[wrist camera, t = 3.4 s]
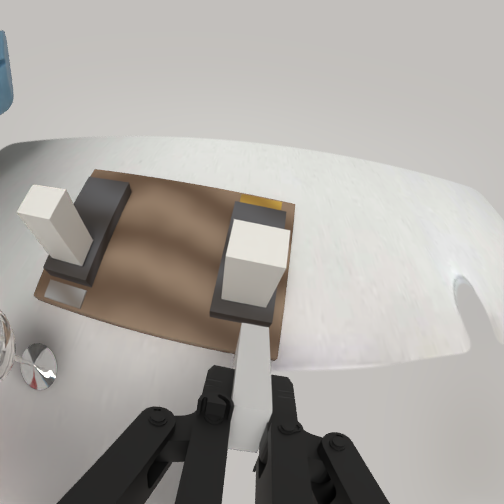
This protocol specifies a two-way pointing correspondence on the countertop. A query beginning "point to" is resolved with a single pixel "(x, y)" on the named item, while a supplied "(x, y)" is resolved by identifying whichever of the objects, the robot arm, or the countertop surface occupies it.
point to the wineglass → (26, 359)
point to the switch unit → (164, 260)
